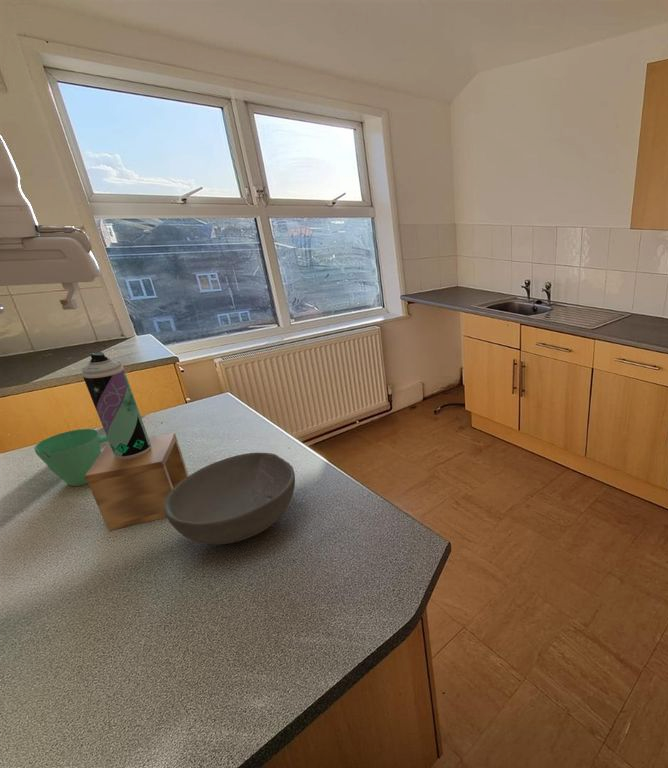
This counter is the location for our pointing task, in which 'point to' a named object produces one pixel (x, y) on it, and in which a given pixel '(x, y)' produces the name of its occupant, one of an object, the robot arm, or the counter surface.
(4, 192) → the robot arm
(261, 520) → the bowl
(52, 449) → the mug
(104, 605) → the counter surface
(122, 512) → the wooden box
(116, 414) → the spray can
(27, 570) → the counter surface
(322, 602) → the counter surface
